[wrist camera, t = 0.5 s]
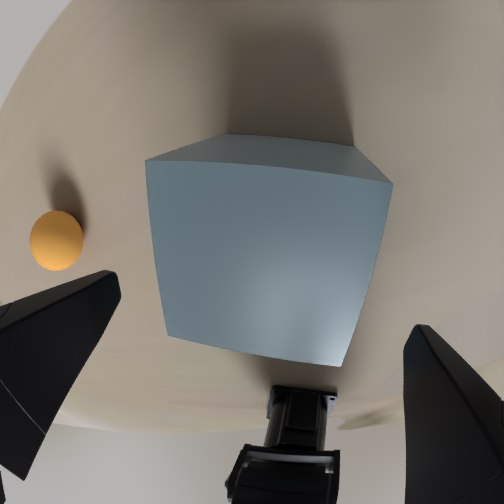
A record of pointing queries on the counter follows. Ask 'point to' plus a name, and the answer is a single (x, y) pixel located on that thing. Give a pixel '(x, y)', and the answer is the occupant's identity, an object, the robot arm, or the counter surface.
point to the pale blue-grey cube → (266, 243)
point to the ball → (56, 240)
